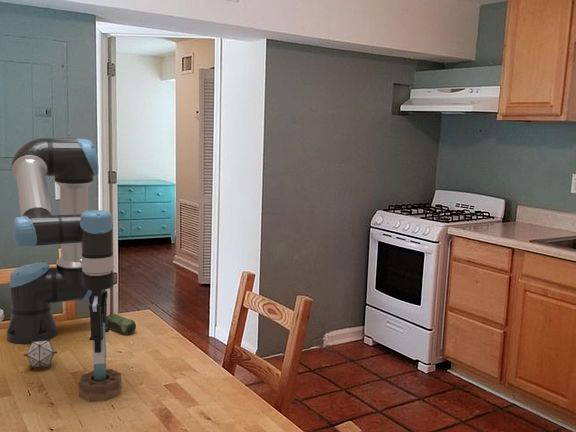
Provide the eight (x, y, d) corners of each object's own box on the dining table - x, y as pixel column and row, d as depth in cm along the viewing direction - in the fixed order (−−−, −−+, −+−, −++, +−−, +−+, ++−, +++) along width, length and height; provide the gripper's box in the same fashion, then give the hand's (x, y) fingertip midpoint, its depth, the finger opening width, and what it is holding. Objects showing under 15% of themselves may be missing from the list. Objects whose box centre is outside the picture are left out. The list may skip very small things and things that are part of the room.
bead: (84, 384, 152) (83, 370, 152) (122, 382, 154) (122, 368, 153) (76, 402, 143) (76, 387, 142) (118, 399, 144) (117, 385, 144)
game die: (44, 381, 162) (41, 363, 155) (19, 368, 163) (14, 349, 156) (64, 357, 168) (62, 338, 161) (40, 344, 169) (37, 326, 162)
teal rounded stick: (95, 380, 149) (93, 322, 147) (106, 380, 150) (105, 322, 147) (93, 386, 146) (91, 326, 144) (105, 385, 147) (104, 325, 144)
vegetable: (139, 333, 191) (139, 319, 191) (126, 337, 187) (126, 323, 187) (114, 324, 200) (113, 310, 199) (101, 327, 196) (100, 313, 195)
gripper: (87, 264, 151) (90, 349, 154) (76, 280, 135) (78, 374, 138) (117, 264, 152) (118, 348, 155) (108, 280, 136) (110, 372, 140)
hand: (100, 360), depth 147 cm, fingers closed on teal rounded stick, 3 cm apart
